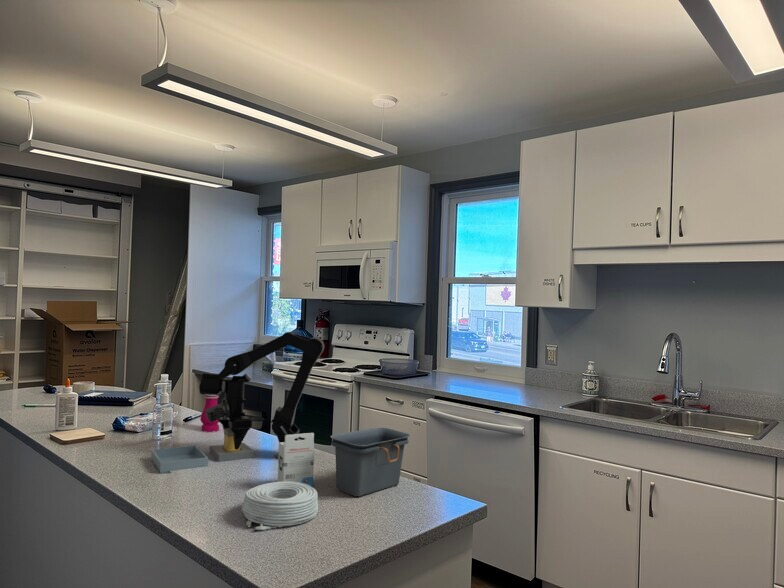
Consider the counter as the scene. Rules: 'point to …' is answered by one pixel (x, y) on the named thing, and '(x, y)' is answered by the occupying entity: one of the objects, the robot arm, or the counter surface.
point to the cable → (280, 504)
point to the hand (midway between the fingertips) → (232, 445)
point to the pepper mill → (207, 425)
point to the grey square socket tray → (231, 453)
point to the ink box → (296, 459)
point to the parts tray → (178, 458)
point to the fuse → (229, 440)
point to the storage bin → (368, 459)
